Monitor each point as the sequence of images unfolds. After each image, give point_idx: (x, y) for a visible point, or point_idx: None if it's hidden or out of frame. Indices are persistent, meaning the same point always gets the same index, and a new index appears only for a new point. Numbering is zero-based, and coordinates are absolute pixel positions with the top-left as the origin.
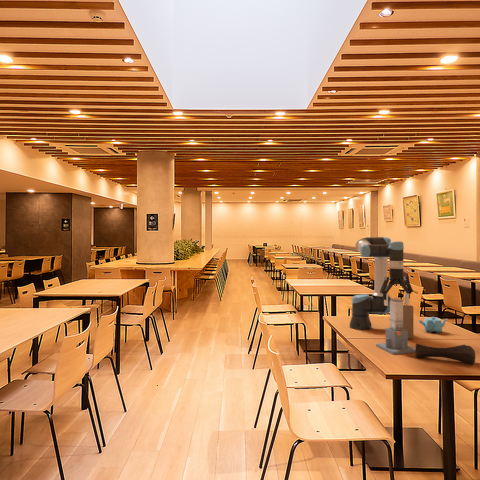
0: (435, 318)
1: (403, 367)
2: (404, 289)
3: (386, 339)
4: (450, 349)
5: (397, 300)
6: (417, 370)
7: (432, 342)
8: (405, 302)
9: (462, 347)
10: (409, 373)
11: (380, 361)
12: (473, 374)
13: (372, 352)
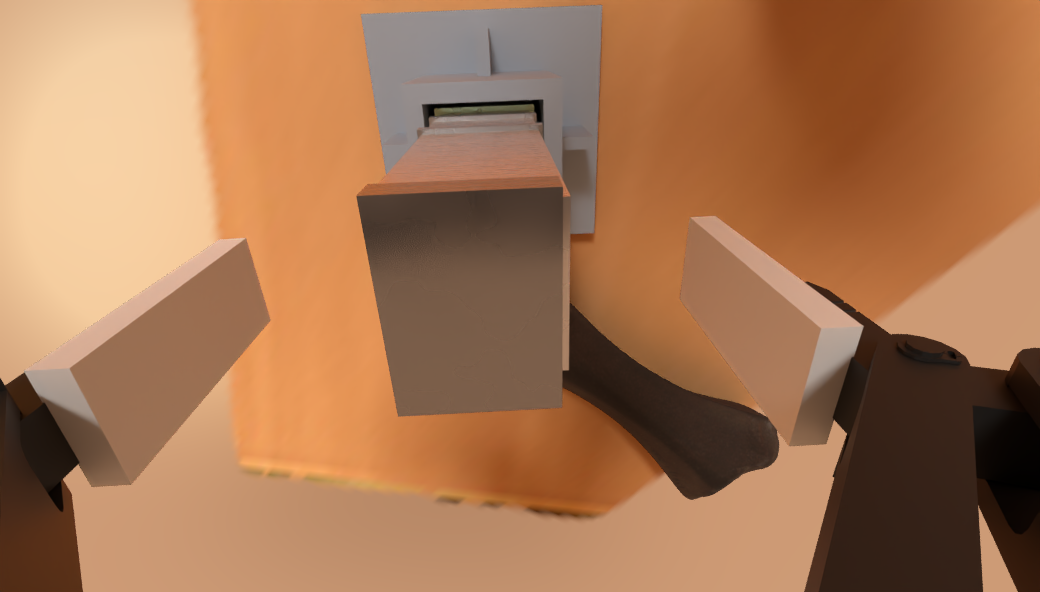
0: None
1: (352, 419)
2: (844, 463)
3: (385, 157)
4: (652, 441)
5: (425, 413)
6: (398, 455)
7: (909, 7)
8: (702, 249)
9: (698, 484)
10: (342, 476)
11: (266, 332)
12: (600, 512)
13: (276, 168)
